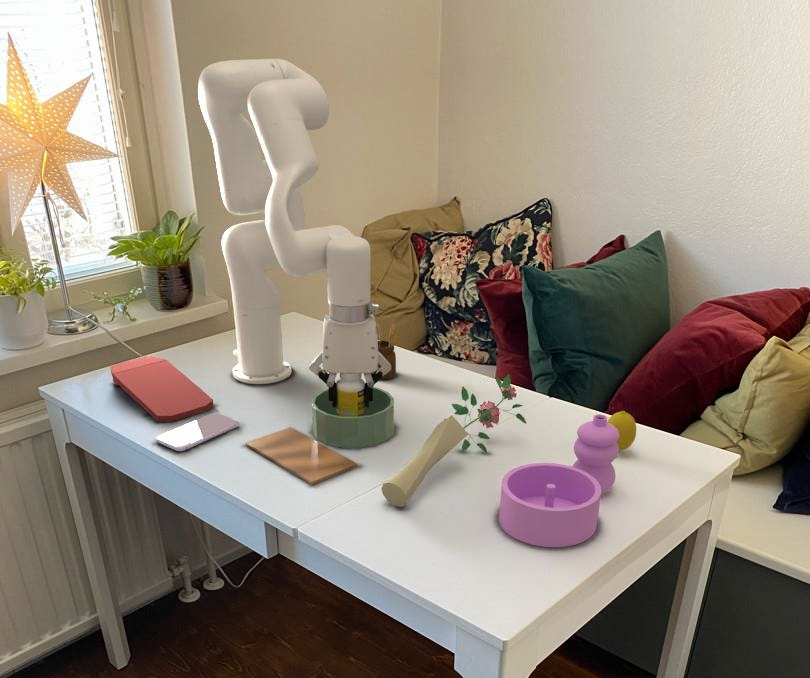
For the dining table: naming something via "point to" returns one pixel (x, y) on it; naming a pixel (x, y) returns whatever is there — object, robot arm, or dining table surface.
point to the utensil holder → (388, 353)
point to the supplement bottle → (350, 395)
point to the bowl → (353, 421)
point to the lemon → (624, 428)
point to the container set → (561, 491)
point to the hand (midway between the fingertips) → (350, 403)
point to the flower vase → (445, 444)
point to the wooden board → (301, 455)
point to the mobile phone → (197, 432)
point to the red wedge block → (160, 388)
